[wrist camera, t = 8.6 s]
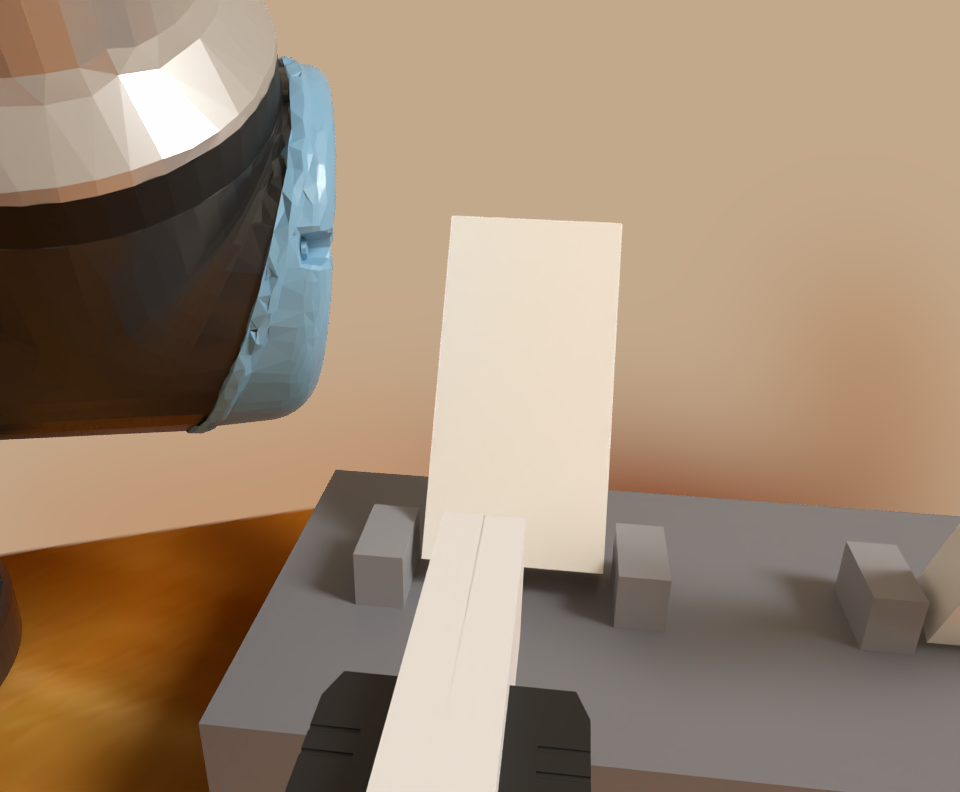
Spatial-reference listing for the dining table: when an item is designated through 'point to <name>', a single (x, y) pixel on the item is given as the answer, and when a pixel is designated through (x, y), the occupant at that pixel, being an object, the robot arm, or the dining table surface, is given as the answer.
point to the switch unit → (637, 643)
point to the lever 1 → (528, 383)
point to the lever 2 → (943, 593)
